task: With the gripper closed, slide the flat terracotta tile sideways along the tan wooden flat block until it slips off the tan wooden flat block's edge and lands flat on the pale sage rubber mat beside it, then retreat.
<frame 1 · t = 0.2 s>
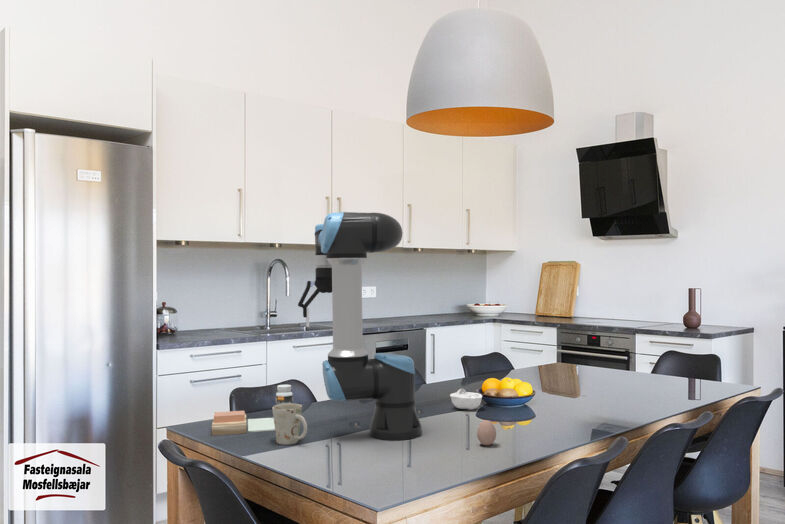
hand: (326, 326, 239), 28 cm above the table, fingers open, 13 cm apart
mat: (267, 424, 208), on the table
tile: (229, 420, 204), point 2 cm above the table, touching tan wooden flat block
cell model: (466, 409, 226), on the table
mug: (292, 443, 186), on the table
tan wooden flat block: (229, 428, 204), on the table
pill bottle: (284, 416, 221), on the table
egg: (486, 446, 180), on the table
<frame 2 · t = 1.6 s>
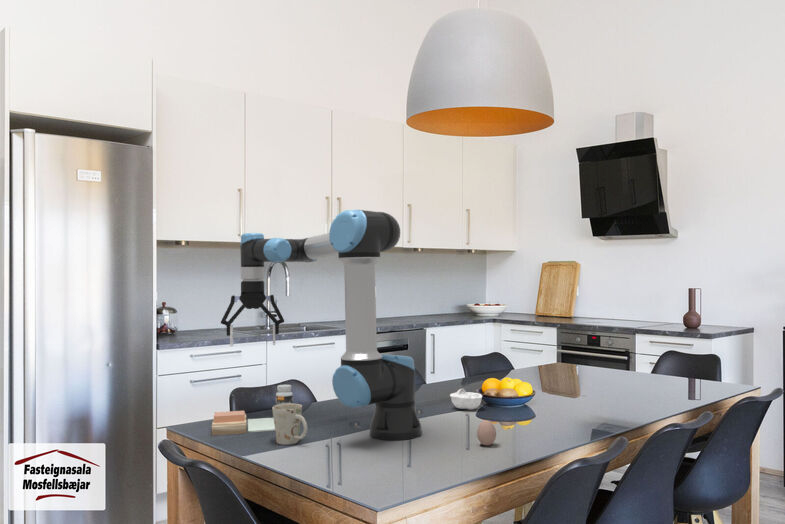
hand: (253, 345, 217), 24 cm above the table, fingers open, 13 cm apart
nothing on the table moved.
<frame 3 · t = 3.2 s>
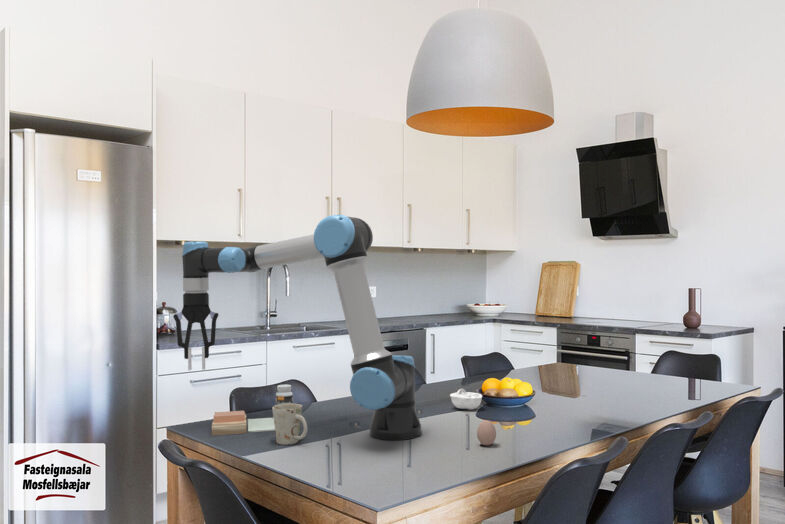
hand: (196, 369, 202), 19 cm above the table, fingers open, 3 cm apart
nothing on the table moved.
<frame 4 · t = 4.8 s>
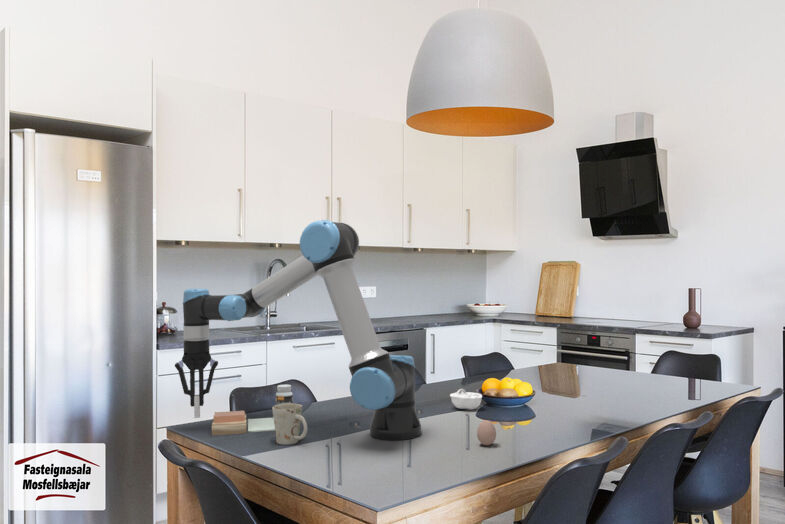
hand: (197, 416, 202), 4 cm above the table, fingers closed
nothing on the table moved.
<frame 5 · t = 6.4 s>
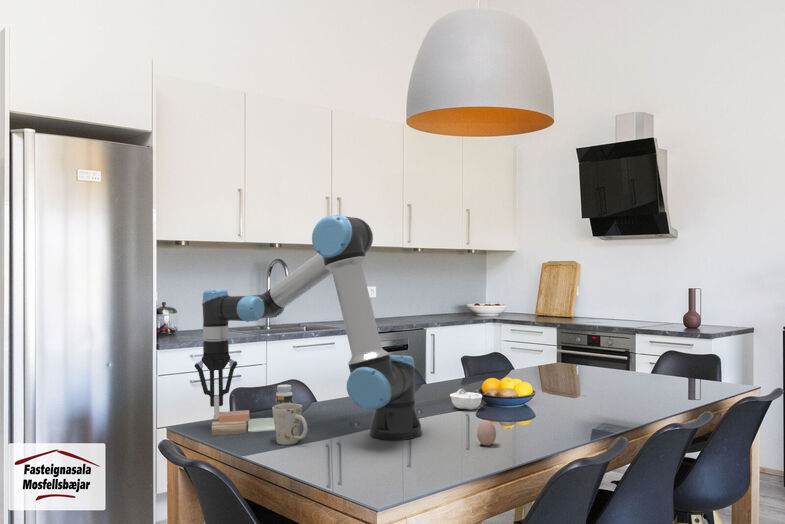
hand: (216, 416, 203), 4 cm above the table, fingers closed
tile: (234, 419, 204), point 3 cm above the table, touching gripper
everything else where it was.
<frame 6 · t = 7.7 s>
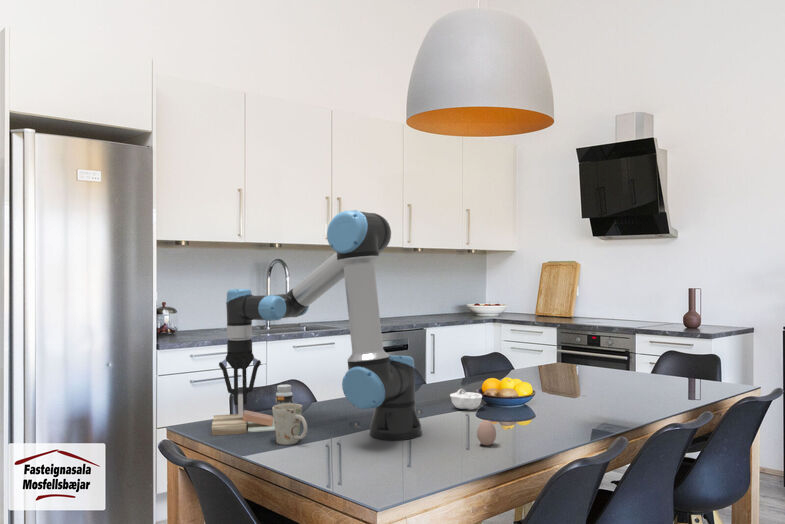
hand: (240, 415, 205), 4 cm above the table, fingers closed
tile: (256, 421, 206), point 2 cm above the table, tilted 16°, touching tan wooden flat block, gripper, mat
everything else where it was.
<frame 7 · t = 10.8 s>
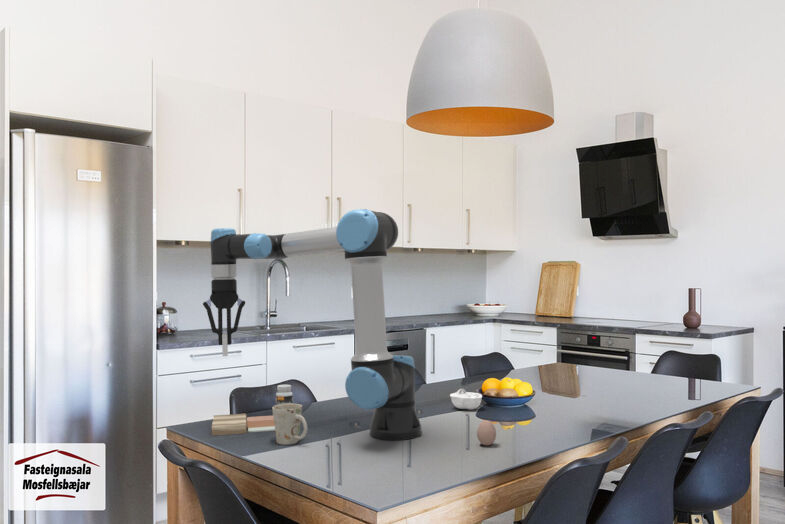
hand: (225, 355, 204), 22 cm above the table, fingers closed
tile: (261, 424, 206), resting on mat
everything else where it was.
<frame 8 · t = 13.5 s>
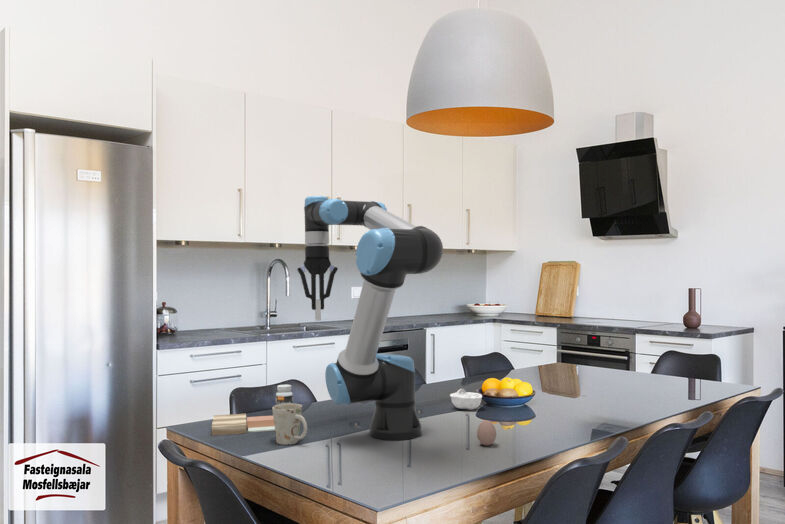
hand: (318, 320, 209), 32 cm above the table, fingers closed
nothing on the table moved.
at the end: tile resting on mat; tile inside the target area on the mat (2.1 cm from its centre), point 0.4 cm above the mat's base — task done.
